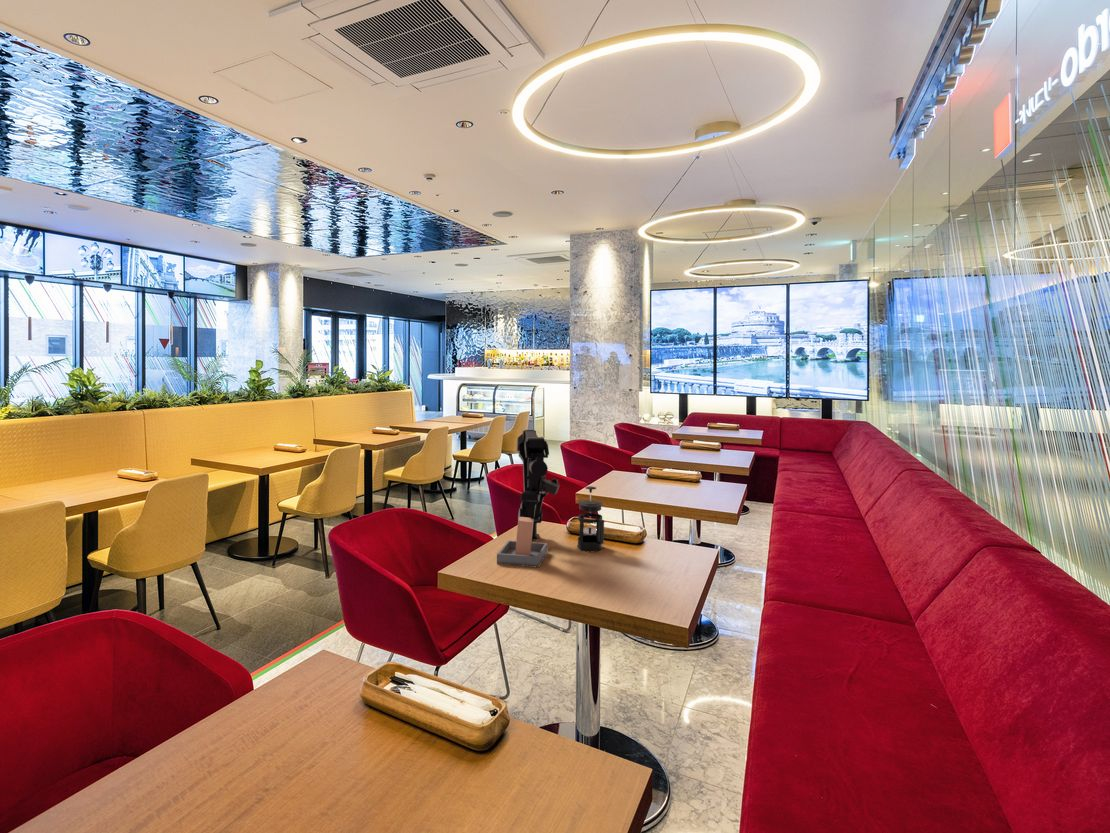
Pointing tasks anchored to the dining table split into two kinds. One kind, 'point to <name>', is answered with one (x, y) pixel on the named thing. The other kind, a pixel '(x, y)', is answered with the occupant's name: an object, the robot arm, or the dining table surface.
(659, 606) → the dining table surface
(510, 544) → the tray
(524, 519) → the terracotta block
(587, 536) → the french press
